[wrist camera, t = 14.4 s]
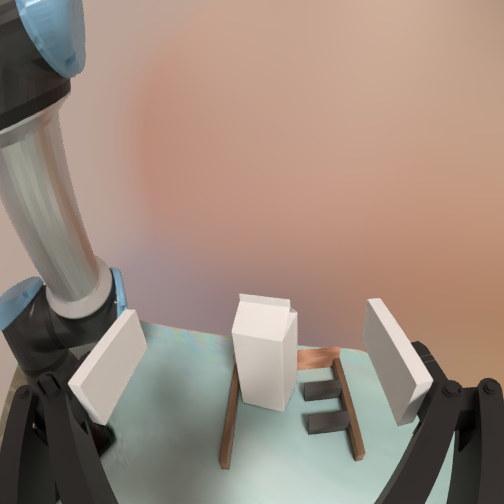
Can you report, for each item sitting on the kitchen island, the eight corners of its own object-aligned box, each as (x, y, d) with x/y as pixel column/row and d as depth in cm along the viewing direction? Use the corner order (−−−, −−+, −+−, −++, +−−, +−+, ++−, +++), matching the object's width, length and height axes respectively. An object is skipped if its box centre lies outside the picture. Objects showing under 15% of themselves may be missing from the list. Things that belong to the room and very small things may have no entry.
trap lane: (221, 468, 28) (216, 456, 27) (236, 368, 49) (234, 353, 48) (362, 459, 27) (368, 446, 25) (337, 362, 47) (339, 346, 46)
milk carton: (283, 412, 38) (281, 314, 32) (242, 402, 41) (227, 306, 34) (296, 383, 44) (297, 287, 38) (259, 375, 47) (250, 282, 41)
